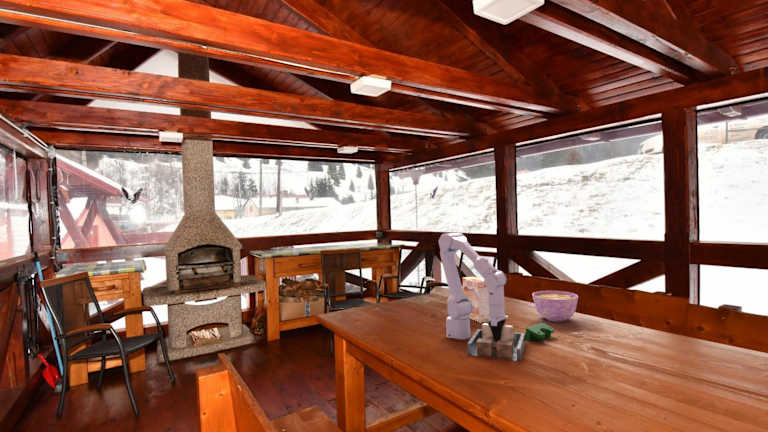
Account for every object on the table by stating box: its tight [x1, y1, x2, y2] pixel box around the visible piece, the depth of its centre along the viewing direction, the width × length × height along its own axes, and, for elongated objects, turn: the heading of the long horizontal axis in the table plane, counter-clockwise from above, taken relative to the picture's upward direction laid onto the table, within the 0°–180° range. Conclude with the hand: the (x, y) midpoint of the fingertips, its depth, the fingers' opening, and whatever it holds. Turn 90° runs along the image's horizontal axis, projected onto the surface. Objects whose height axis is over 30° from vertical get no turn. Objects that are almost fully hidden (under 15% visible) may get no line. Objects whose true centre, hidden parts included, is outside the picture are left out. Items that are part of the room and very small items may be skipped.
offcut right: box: [497, 340, 513, 358], centre depth 132 cm, size 5×4×4 cm
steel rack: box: [467, 328, 526, 362], centre depth 139 cm, size 18×18×5 cm
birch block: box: [481, 322, 514, 348], centre depth 141 cm, size 11×2×8 cm, turn 64°
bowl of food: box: [531, 290, 579, 323], centre depth 177 cm, size 20×20×12 cm
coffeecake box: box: [461, 276, 491, 324], centre depth 184 cm, size 15×7×20 cm, turn 17°
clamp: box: [525, 322, 555, 343], centre depth 148 cm, size 12×6×9 cm, turn 121°
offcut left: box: [477, 338, 493, 356], centre depth 135 cm, size 5×4×4 cm
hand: (497, 339), depth 141 cm, fingers closed on birch block, 2 cm apart
